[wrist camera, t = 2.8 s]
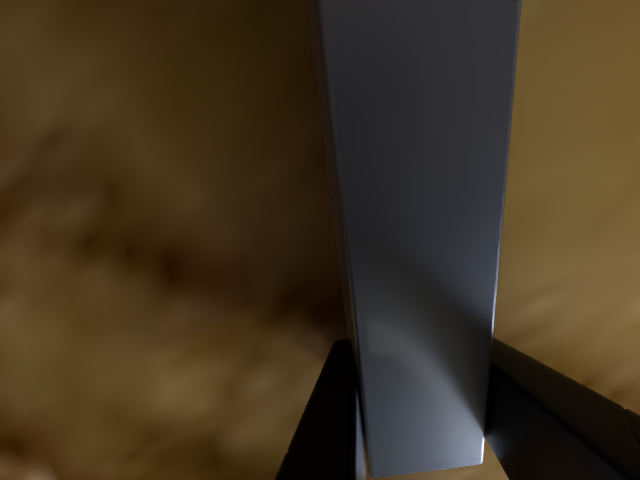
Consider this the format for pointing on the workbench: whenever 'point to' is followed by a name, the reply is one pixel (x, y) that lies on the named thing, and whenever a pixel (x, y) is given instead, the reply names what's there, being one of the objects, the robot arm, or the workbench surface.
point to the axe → (418, 211)
